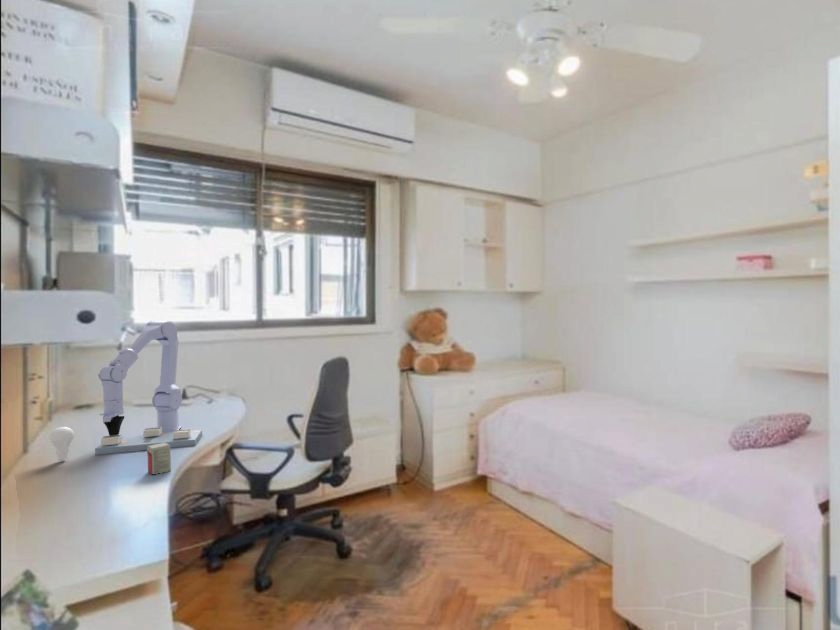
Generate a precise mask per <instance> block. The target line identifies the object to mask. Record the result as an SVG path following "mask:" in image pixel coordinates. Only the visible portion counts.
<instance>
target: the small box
mask: <svg viewBox="0 0 840 630" xmlns="http://www.w3.org/2000/svg"><path fill="white" fill-rule="evenodd" d="M146 451H147V473H148V474H150V473H151V474H150V475H152V474H156V475H159V474H158V473H160V474H162V473H163V472H164V473H167V472H171V470H172V469H171V468H172V467H171V466H172V465H171V464H172V463H171V448H170V445H169V444H167V443H160V444H155V445H150V446H147V450H146Z"/></svg>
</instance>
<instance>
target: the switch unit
mask: <svg viewBox="0 0 840 630" xmlns="http://www.w3.org/2000/svg"><path fill="white" fill-rule="evenodd" d="M202 436H203V429H193V430H192V429H191V435H190V437H189V438H179V439H173V432H168V433H162V434H161V435H159V436H151V437H144V434H137V435H125V436H124V435H122V441H121V442H120V443H119V444H114V445H103V446H101V444H100V445H98V446H97V447H96V448H95V449H94V451H95V456H97V455H107V454H116V453H117V454H118V453H127V452H128V453H129V452H139V451H147V446H150V445H155V444H160V443H167V444H169V445H170V449H171V448H181V447H191V446H196V445H197V444H198V442H199V441H200V439H201V437H202Z"/></svg>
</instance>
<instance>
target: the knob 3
mask: <svg viewBox="0 0 840 630" xmlns="http://www.w3.org/2000/svg"><path fill="white" fill-rule="evenodd" d="M191 431H192V429H191V428H184V429H182V428H181V429H180V430H174V432H173V439H179V438H189V437H190V435H191Z"/></svg>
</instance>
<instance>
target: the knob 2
mask: <svg viewBox="0 0 840 630" xmlns="http://www.w3.org/2000/svg"><path fill="white" fill-rule="evenodd" d="M161 434H162V427H157V426H156V427H147V428H144V429H143V435H144V437H151V436H159V435H161Z"/></svg>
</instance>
